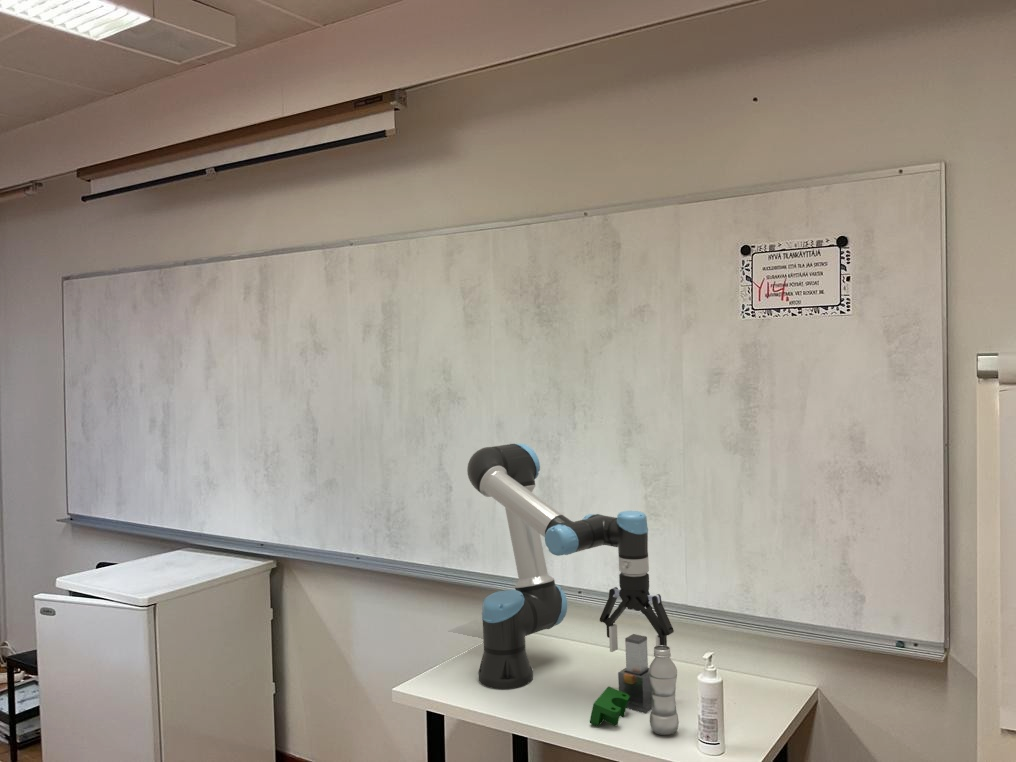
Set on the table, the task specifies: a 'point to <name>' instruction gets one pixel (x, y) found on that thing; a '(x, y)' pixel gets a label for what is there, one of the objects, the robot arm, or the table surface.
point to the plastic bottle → (663, 692)
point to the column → (636, 654)
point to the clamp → (609, 707)
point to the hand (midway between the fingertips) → (636, 655)
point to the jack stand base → (636, 690)
